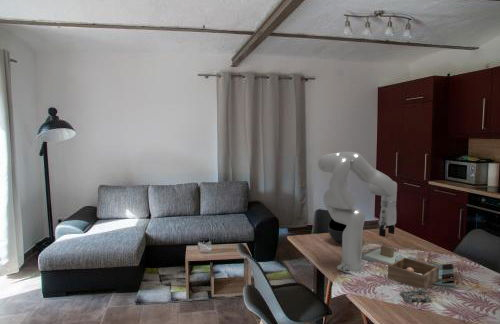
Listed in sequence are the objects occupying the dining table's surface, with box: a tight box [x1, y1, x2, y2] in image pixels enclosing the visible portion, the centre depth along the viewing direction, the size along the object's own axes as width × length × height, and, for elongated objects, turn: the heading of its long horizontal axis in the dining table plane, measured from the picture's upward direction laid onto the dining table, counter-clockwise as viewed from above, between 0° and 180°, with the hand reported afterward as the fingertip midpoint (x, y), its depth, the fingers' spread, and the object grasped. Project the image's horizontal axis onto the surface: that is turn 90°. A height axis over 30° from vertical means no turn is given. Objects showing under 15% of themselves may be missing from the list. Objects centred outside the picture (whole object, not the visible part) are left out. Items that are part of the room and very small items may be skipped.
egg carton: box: [399, 288, 433, 305], centre depth 135 cm, size 11×8×4 cm
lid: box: [364, 244, 411, 265], centre depth 181 cm, size 17×17×6 cm
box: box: [387, 257, 440, 290], centre depth 153 cm, size 16×16×7 cm
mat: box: [362, 247, 417, 263], centre depth 182 cm, size 22×22×1 cm
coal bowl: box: [327, 218, 346, 245], centre depth 206 cm, size 20×20×19 cm
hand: (386, 234), depth 180 cm, fingers open, 9 cm apart
